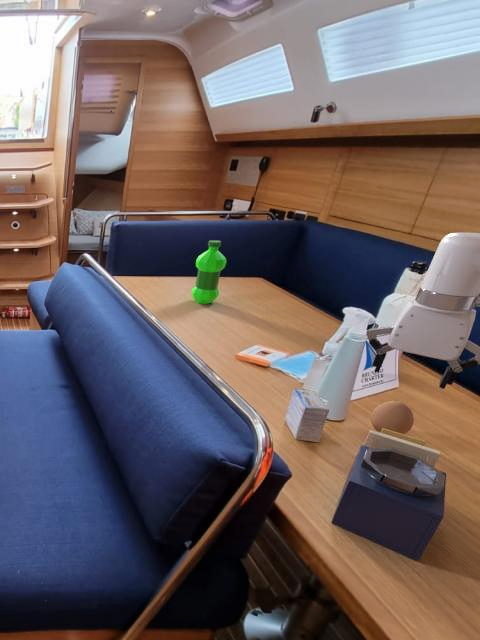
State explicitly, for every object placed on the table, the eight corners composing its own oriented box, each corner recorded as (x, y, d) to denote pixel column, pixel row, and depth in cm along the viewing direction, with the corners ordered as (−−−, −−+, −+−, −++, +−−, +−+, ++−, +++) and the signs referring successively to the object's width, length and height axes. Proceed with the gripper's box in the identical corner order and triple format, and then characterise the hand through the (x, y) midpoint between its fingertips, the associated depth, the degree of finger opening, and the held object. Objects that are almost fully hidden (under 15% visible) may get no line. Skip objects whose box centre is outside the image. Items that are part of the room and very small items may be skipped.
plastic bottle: (211, 297, 176) (223, 238, 166) (221, 306, 167) (234, 244, 156) (186, 297, 178) (196, 239, 168) (194, 306, 168) (205, 244, 158)
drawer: (361, 447, 87) (374, 416, 84) (425, 468, 81) (442, 436, 78) (346, 491, 77) (361, 458, 73) (419, 520, 70) (438, 485, 67)
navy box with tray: (344, 484, 79) (361, 444, 75) (423, 515, 72) (446, 472, 68) (331, 523, 72) (349, 480, 68) (417, 561, 65) (443, 516, 61)
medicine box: (318, 443, 90) (331, 410, 87) (294, 439, 92) (305, 407, 88) (306, 422, 97) (317, 391, 93) (283, 419, 98) (293, 388, 95)
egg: (359, 424, 95) (371, 393, 92) (392, 426, 94) (406, 395, 91) (377, 442, 90) (391, 410, 86) (413, 444, 88) (429, 412, 85)
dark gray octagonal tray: (364, 450, 74) (369, 441, 73) (439, 476, 68) (445, 466, 67) (356, 477, 68) (360, 467, 67) (437, 507, 62) (443, 497, 61)
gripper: (514, 304, 75) (470, 385, 83) (385, 286, 87) (356, 358, 94) (517, 316, 71) (470, 400, 78) (380, 295, 83) (350, 370, 90)
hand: (408, 377), depth 86 cm, fingers open, 9 cm apart
